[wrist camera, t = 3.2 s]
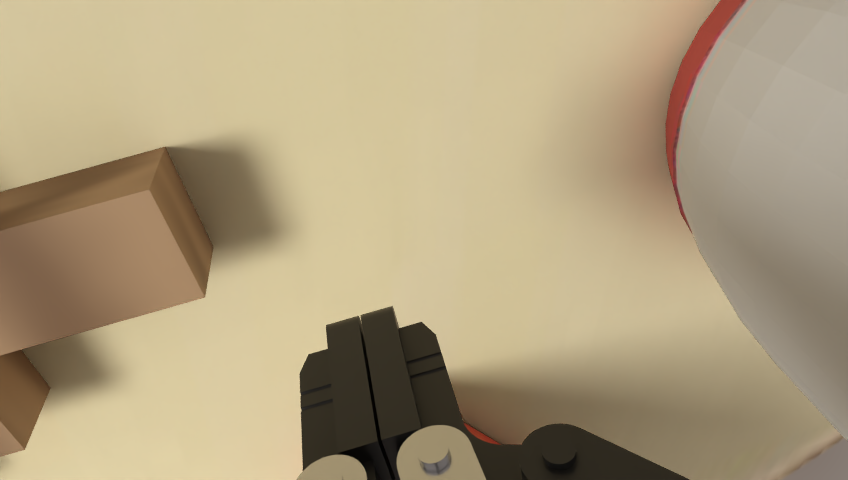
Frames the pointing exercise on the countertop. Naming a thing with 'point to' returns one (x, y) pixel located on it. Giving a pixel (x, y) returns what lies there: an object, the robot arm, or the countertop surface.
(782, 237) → the citrus juicer
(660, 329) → the countertop surface
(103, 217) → the t block
